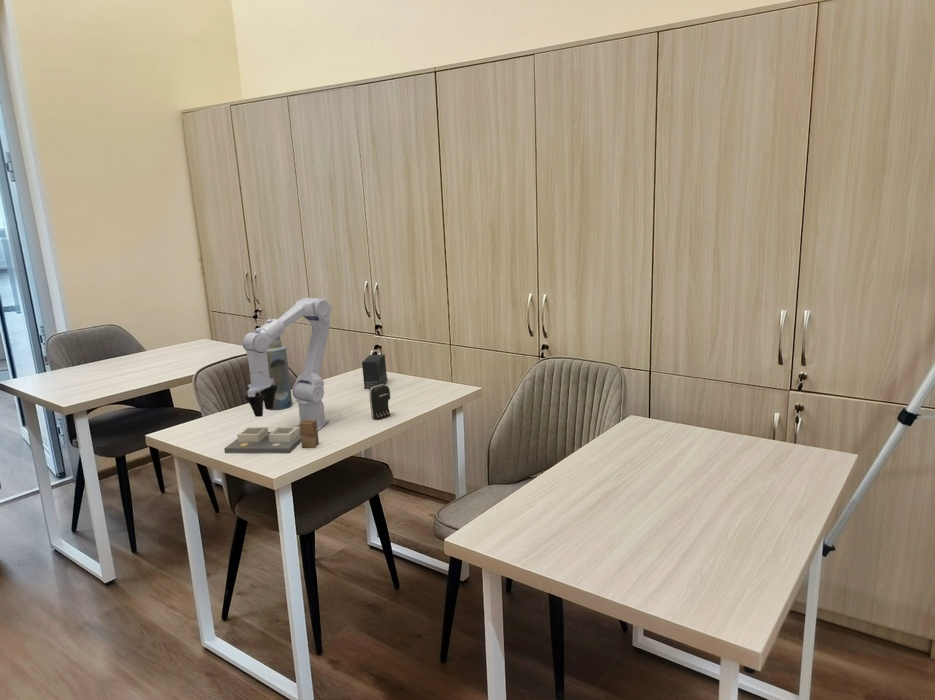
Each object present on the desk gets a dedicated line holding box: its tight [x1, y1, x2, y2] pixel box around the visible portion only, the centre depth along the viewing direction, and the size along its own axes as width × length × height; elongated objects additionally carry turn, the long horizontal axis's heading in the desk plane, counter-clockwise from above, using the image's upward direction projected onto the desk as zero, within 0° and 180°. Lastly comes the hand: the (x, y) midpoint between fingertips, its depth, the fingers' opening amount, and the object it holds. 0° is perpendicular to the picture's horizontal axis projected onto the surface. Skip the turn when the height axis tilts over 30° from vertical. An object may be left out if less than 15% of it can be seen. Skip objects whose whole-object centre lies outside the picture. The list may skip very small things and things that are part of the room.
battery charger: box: [368, 384, 391, 420], centre depth 230 cm, size 7×4×11 cm, turn 135°
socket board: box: [223, 426, 302, 454], centre depth 209 cm, size 15×21×4 cm
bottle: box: [266, 335, 293, 411], centre depth 248 cm, size 10×10×30 cm
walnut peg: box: [299, 420, 320, 449], centre depth 205 cm, size 4×4×8 cm
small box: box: [361, 353, 388, 390], centre depth 272 cm, size 13×7×12 cm, turn 174°
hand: (264, 412), depth 208 cm, fingers open, 7 cm apart
